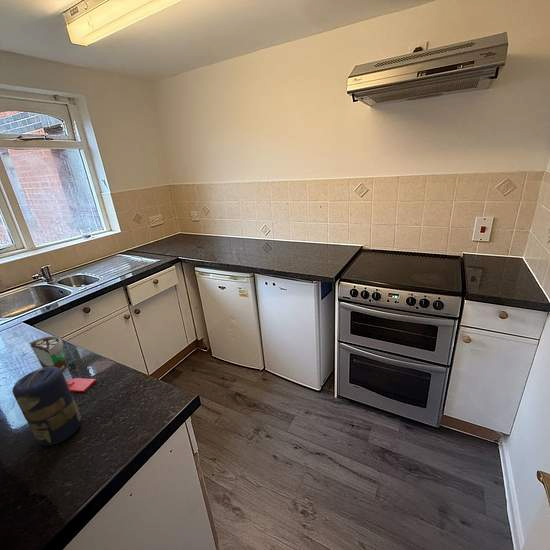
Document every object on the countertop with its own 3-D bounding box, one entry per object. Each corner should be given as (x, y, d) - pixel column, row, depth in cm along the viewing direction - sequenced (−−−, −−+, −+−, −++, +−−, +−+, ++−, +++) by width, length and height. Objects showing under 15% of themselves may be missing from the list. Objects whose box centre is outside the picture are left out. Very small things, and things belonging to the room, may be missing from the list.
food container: (79, 364, 101) (69, 339, 98) (60, 376, 96) (48, 350, 93) (59, 356, 107) (48, 332, 103) (40, 367, 102) (28, 342, 98)
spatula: (29, 388, 92) (27, 385, 91) (43, 377, 96) (42, 374, 96) (84, 392, 88) (83, 389, 87) (96, 380, 92) (95, 377, 92)
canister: (28, 447, 71) (-4, 388, 65) (60, 415, 80) (34, 360, 73) (63, 450, 70) (33, 389, 63) (92, 417, 79) (68, 361, 72)
